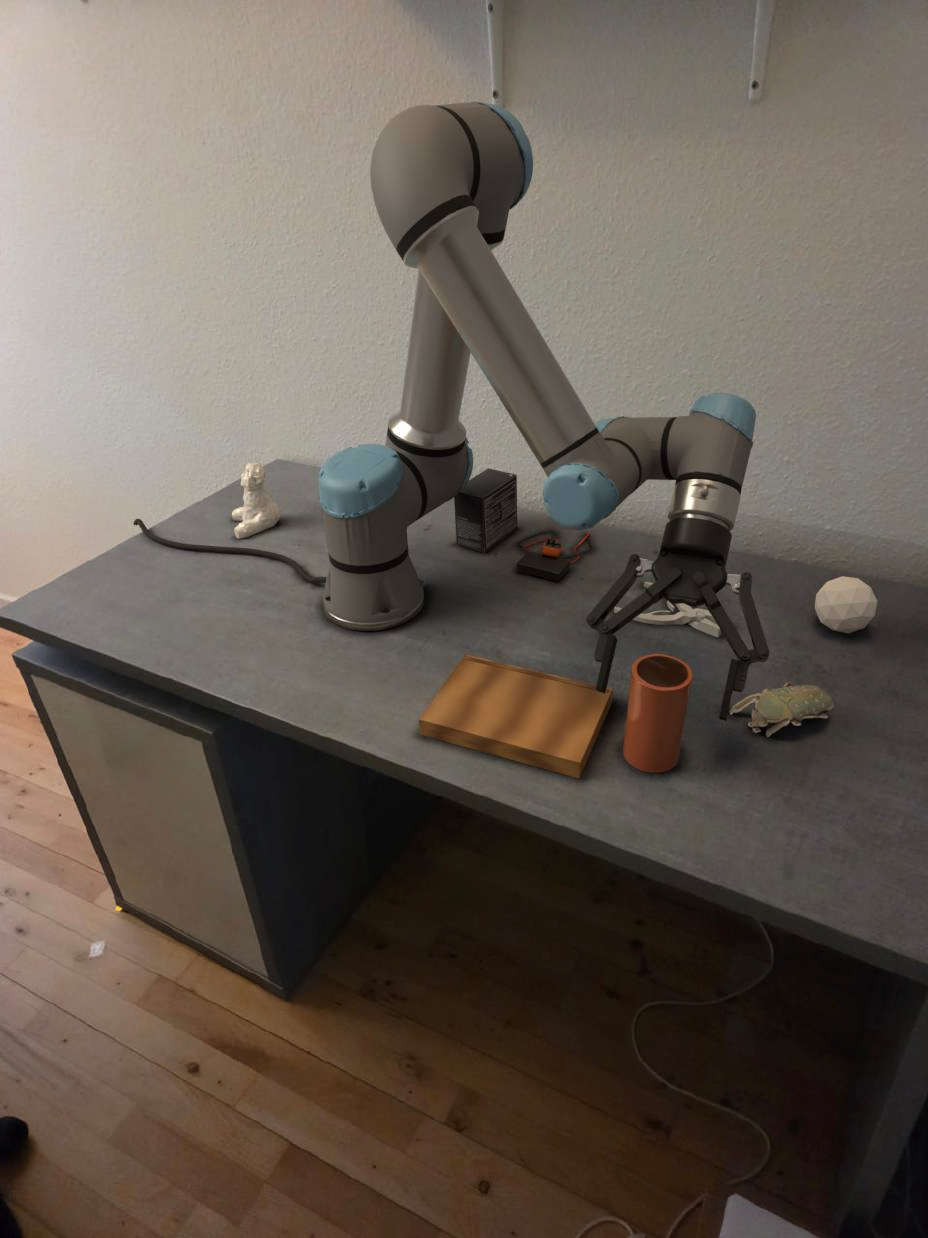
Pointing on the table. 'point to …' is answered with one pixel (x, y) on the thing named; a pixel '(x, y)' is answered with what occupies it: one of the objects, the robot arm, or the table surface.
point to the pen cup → (656, 712)
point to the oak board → (518, 714)
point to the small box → (486, 510)
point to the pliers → (681, 617)
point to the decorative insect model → (785, 706)
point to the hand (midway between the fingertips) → (659, 705)
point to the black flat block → (547, 560)
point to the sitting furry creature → (255, 504)
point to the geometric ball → (845, 604)
